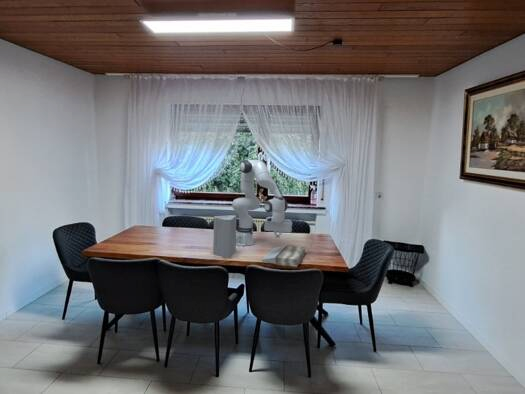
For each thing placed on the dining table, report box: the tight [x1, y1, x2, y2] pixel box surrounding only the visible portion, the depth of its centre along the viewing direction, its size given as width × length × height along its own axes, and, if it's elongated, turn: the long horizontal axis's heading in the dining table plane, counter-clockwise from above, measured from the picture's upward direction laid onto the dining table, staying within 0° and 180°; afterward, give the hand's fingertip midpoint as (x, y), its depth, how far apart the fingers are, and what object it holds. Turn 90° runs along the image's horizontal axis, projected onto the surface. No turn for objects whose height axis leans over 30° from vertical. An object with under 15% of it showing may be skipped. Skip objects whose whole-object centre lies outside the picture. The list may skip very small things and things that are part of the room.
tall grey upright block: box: [212, 214, 237, 259], centre depth 272 cm, size 19×15×28 cm
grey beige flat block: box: [276, 244, 306, 268], centre depth 266 cm, size 14×36×5 cm, turn 165°
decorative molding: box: [261, 245, 287, 265], centre depth 271 cm, size 34×5×10 cm
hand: (277, 237), depth 267 cm, fingers closed
